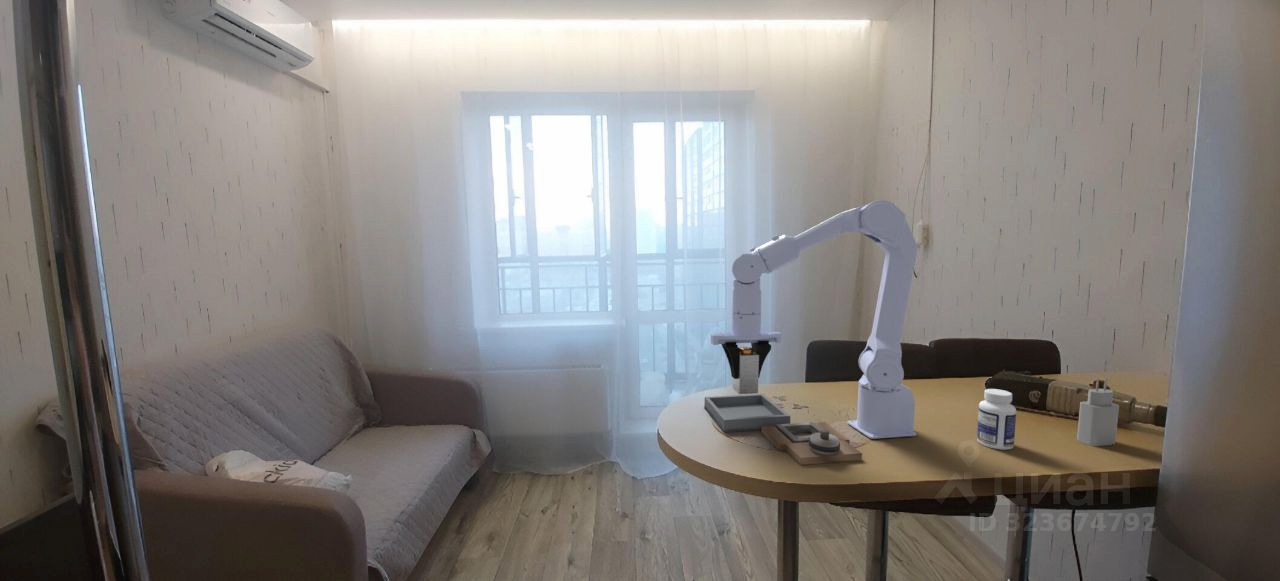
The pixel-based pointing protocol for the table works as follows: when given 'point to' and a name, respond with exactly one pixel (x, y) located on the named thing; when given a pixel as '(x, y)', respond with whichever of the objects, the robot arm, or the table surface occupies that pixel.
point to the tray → (745, 412)
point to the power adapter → (1098, 418)
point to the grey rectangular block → (747, 372)
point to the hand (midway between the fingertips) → (745, 377)
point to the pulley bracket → (812, 443)
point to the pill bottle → (996, 420)
